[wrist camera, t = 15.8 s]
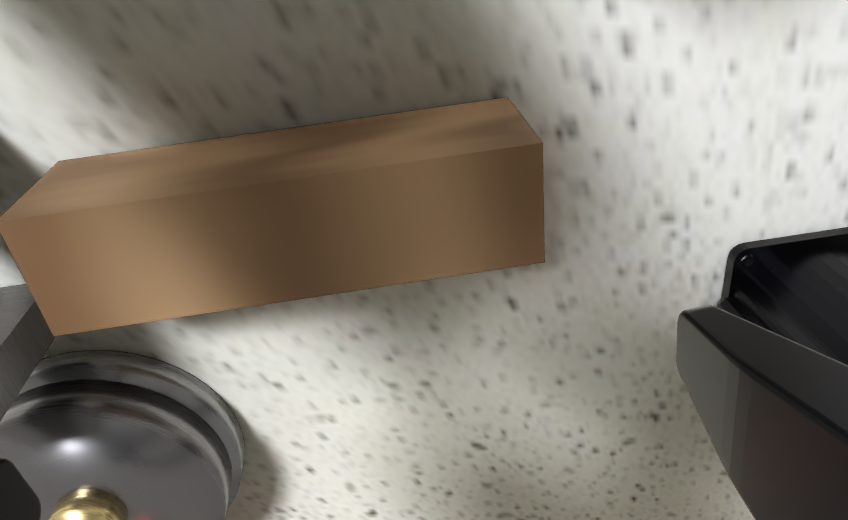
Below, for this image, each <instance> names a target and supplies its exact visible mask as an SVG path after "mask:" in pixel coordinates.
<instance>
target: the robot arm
mask: <svg viewBox="0 0 848 520" xmlns="http://www.w3.org/2000/svg"><path fill="white" fill-rule="evenodd" d="M745 255H748V256H747V258H745V259H744V260H742V261H741V259H742V258H743V257H744V256H745ZM676 361H677V367H678V371H679V374H680V376H681V378H682V381H683V383H684V385H685V387H686V389H687V391H688V393H689V395H690V397H691V399H692V401H693V403H694V406H695V408H696V410H697V412H698V414H699V416H700V418H701V420H702V422H703V424H704V426H705V429H706V431H707V433H708V435H709V437H710V439H711V441H712V443H713V445H714V447H715V449H716V452H717V454H718V456H719V458H720V460H721V462H722V464H723V466H724V468H725V470H726V472H727V474H728V476H729V477H730V479H731V481H732V482H733V484H734V486H735V488H736V489H737V491H738V493H739V494H740V496H741V497H742V499H743V501H744V502H745V504H746V505H747V507H748V509H749V510H750V512H751V513H752V515H753V517H754V518H755V520H848V227H846V228H839V229H833V230H826V231H819V232H813V233H806V234H800V235H793V236H786V237H780V238H773V239H766V240H760V241H753V242H747V243H742V244H739V245H737V246H736V247H734V248H733V249H732V250H731V251H730V253H729V256H728V261H727V267H726V274H725V280H724V287H723V293H722V299H721V301H720V303H719V304H718V308H717V307H714V306H703V307H698V308H693V309H689V310H685V311H683V312H681V313H680V314H679V317H678V322H677V353H676ZM40 519H41V503H40V499H39V497H38V495H37V494H36V492H35V491H34V490H33V488H32V487H31V486H30V484H29V483H28V482H27V480H26V479H25V478H24V476H23V475H22V474H21V472H20V471H19V470H18V469H17V467H16V466H15V465H14V464H13V462H11V461H10V460H8V459H5V458H0V520H40Z"/></svg>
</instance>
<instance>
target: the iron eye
mask: <svg viewBox="0 0 848 520" xmlns="http://www.w3.org/2000/svg"><path fill="white" fill-rule="evenodd" d="M55 337H56V336H53V334H52V332H51V330H50V328H49V326H48V324H47V322H46V320H45V318H44V317H43V315H42V313H41V311H40V309H39V307H38V305H37V303H36V301H35V299H34V297H33V295H32V293H31V291H30V289H29V287H28V285H27V284H23V285H16V286H9V287H2V288H0V422H1V420H2V419H3V417H4V415H5V414H6V412H7V411H8V409H9V408H10V406H11V405H12V403H13V402H14V400H15V398H16V397H17V395H18V394H19V392H20V391H21V389H22V388H23V386H24V385H25V383H26V382H27V380H28V378H29V377H30V375H31V374H32V372H33V371H34V369H35V368H36V366H37V365H38V363H39V361H40V360H41V358H42V357H43V355H44V354H45V352H46V351H47V349H48V348H49V346H50V344H51V343H52V341H53V340H54V338H55Z"/></svg>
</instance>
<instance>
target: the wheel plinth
mask: <svg viewBox="0 0 848 520" xmlns="http://www.w3.org/2000/svg"><path fill="white" fill-rule="evenodd" d="M70 380H106V381H116V382H122V383H127V384H132V385H136V386H140V387H143V388H147V389H150V390H153V391H156V392H158V393H161V394H163V395H166V396H168V397H170V398H172V399H174V400H176V401H178V402H180V403H181V404H183V405H185V406H186V407H188V408H189V409H191V410H192V411H194V412H195V413H197V414H198V415H199V416H200V417H201V418H203V419H204V420H205V421H206V422H207V423H208V424H209V425H210V426H211V427H212V428H213V429H214V430H215V432H216V433H217V434H218V436H219V437H220V439H221V440H222V442H223V443H224V445H225V447H226V449H227V451H228V454H229V457H230V461H231V464H232V484H231V490H230V495H229V501H228V506H227V508H228V507H229V505H230V504H231V503H232V501H233V499H234V497H235V495H236V493H237V490H238V487H239V484H240V480H241V474H242V468H243V463H244V454H245V448H244V439H243V435H242V431H241V428H240V426H239V424H238V421H237V419H236V417H235V416H234V414H233V413H232V411H231V410H230V408H229V407H228V405H227V404H226V403H225V402H224V401H223V400H222V399H221V397H220V396H219V395H218V394H216V393H215V392H214V391H213V390H212V389H211V388H210V387H208V386H207V385H206V384H204V383H203V382H201V381H200V380H198V379H197V378H196V377H194V376H192V375H190V374H189V373H187V372H185V371H183V370H181V369H179V368H177V367H174V366H172V365H169V364H167V363H165V362H162V361H159V360H155V359H152V358H149V357H145V356H141V355H136V354H131V353H125V352H115V351H80V352H70V353H65V354H60V355H56V356H52V357H49V358H46V359H43V360H40V361H39V363H38V365H37V366H36V368H35V369H34V371H33V372H32V374H31V375H30V377H29V378H28V380H27V382H26V383H25V385H24V386H23V388H22V389H21V391H20V392H19V394H21V393H23V392H25V391H27V390H30V389H33V388H36V387H39V386H42V385H46V384H51V383H56V382H61V381H70ZM19 394H18V395H19Z"/></svg>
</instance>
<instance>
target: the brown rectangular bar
mask: <svg viewBox="0 0 848 520" xmlns="http://www.w3.org/2000/svg"><path fill="white" fill-rule="evenodd" d="M0 233H1V235H2V237H3V239H4V241H5V243H6V244H7V246H8V248H9V250H10V252H11V254H12V256H13V258H14V260H15V262H16V264H17V266H18V268H19V270H20V272H21V274H22V276H23V278H24V280H25V281H26V283H27V285H28V287H29V289H30V291H31V293H32V295H33V297H34V299H35V301H36V303H37V305H38V307H39V309H40V311H41V313H42V315H43V317H44V318H45V320H46V322H47V324H48V326H49V328H50V330H51V332H52V334H53V336H59V335H66V334H72V333H79V332H86V331H92V330H99V329H106V328H112V327H119V326H125V325H132V324H139V323H145V322H152V321H159V320H165V319H172V318H179V317H185V316H192V315H198V314H205V313H212V312H218V311H225V310H232V309H238V308H245V307H251V306H258V305H265V304H271V303H278V302H285V301H291V300H298V299H305V298H311V297H318V296H324V295H331V294H338V293H344V292H351V291H358V290H364V289H371V288H377V287H384V286H391V285H397V284H404V283H411V282H417V281H424V280H431V279H437V278H444V277H450V276H457V275H464V274H470V273H477V272H484V271H490V270H497V269H503V268H510V267H517V266H523V265H530V264H537V263H543V262H545V250H544V192H543V142H542V141H541V140H540V139H539V137H538V136H537V135H536V133H535V132H534V131H533V129H532V128H531V127H530V125H529V124H528V123H527V122H526V120H525V119H524V118H523V116H522V115H521V114H520V112H519V111H518V110H517V108H516V107H515V106H514V104H513V103H512V102H511V101H510V99H509V98H508V97H506V98H499V99H492V100H485V101H478V102H471V103H464V104H457V105H450V106H443V107H436V108H429V109H422V110H415V111H408V112H401V113H394V114H387V115H380V116H373V117H365V118H358V119H351V120H344V121H337V122H330V123H323V124H316V125H309V126H302V127H295V128H288V129H281V130H274V131H267V132H260V133H253V134H246V135H239V136H232V137H225V138H218V139H211V140H204V141H197V142H190V143H182V144H175V145H168V146H161V147H154V148H147V149H140V150H133V151H126V152H119V153H112V154H105V155H98V156H91V157H84V158H77V159H70V160H63V161H58V162H57V163H56V164H55V165H54V166H53V167H52V168H51V169H50V170H49V171H48V172H47V173H46V174H45V175H44V176H43V177H42V178H41V179H39V180H38V181H37V182H36V183H35V184H34V185H33V186H32V187H31V188H30V189H29V190H28V191H27V192H26V193H25V194H24V195H23V196H22V197H21V198H20V199H18V200H17V201H16V202H15V203H14V204H13V205H12V206H11V207H10V208H9V209H8V210H7V211H6V212H5V213H4V214H3V215H2V216H1V217H0Z"/></svg>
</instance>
